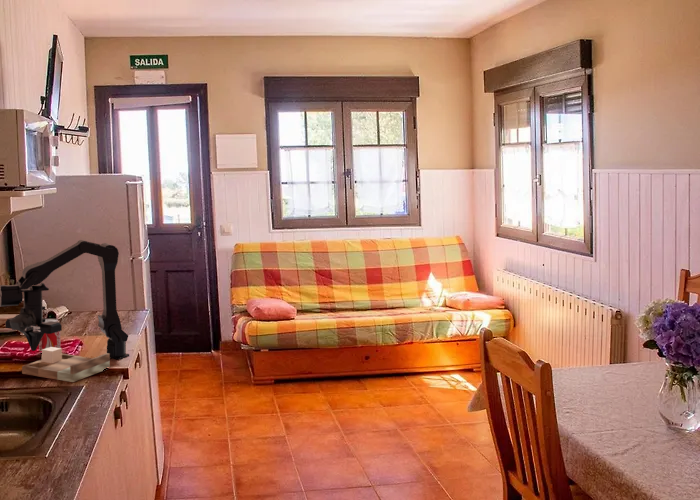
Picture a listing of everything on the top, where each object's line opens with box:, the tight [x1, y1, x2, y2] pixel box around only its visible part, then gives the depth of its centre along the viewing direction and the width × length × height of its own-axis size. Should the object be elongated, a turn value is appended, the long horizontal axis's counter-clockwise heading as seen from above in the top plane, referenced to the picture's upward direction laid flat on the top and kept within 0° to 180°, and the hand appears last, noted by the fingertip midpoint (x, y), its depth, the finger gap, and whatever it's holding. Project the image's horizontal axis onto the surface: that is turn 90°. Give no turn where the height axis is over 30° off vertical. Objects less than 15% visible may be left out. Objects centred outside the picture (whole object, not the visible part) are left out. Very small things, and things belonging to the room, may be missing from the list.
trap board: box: [21, 352, 111, 383], centre depth 263 cm, size 18×20×5 cm
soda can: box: [38, 318, 61, 352], centre depth 282 cm, size 7×7×12 cm
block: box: [41, 347, 63, 363], centre depth 265 cm, size 4×4×4 cm
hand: (33, 350), depth 267 cm, fingers closed
